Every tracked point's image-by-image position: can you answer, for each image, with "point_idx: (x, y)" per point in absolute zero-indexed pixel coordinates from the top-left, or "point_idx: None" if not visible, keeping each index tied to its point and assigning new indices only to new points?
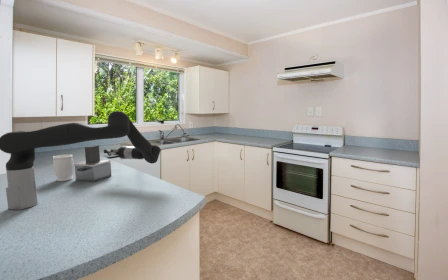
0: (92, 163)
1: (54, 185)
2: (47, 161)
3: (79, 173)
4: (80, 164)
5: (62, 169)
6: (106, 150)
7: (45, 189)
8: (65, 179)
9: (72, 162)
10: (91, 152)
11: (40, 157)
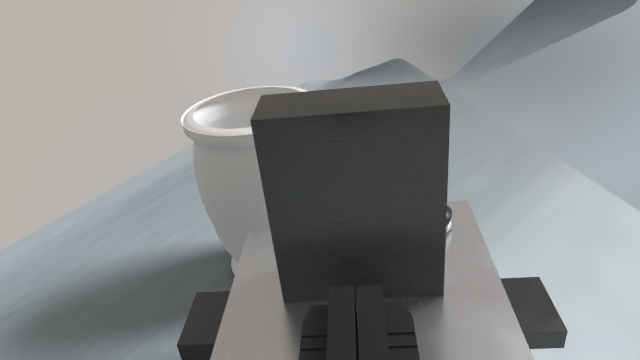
0: (288, 327)
1: (143, 307)
2: (500, 46)
3: None
4: (241, 259)
5: (211, 215)
6: (320, 355)
7: (56, 328)
8: None
9: None
10: (305, 191)
11: (522, 17)
